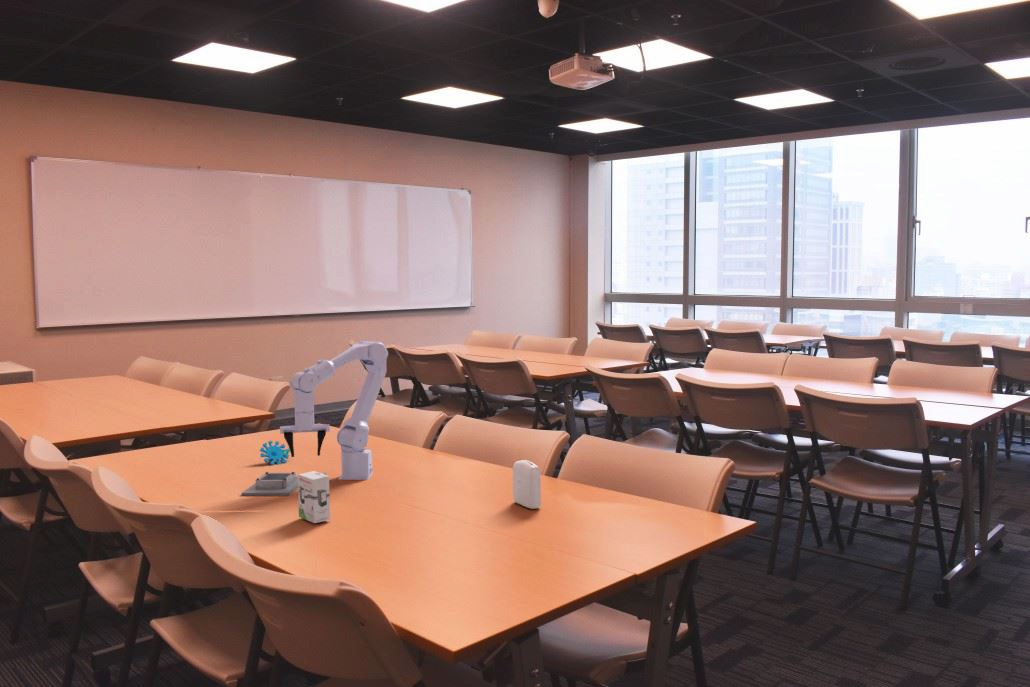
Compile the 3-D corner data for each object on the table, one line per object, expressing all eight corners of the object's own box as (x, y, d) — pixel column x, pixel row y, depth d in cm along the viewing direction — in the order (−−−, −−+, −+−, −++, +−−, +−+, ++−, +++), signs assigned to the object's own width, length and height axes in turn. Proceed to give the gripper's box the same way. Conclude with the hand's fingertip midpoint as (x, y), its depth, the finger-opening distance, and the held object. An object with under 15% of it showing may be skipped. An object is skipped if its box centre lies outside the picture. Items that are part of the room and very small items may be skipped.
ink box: (297, 517, 219) (296, 473, 218) (314, 513, 222) (313, 470, 221) (314, 523, 213) (313, 478, 212) (331, 519, 216) (330, 475, 215)
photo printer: (511, 501, 232) (510, 458, 231) (524, 499, 234) (523, 456, 233) (529, 510, 223) (529, 465, 222) (543, 508, 225) (542, 463, 224)
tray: (308, 479, 261) (307, 467, 260) (288, 495, 241) (288, 483, 241) (264, 479, 261) (264, 467, 261) (241, 495, 241) (241, 483, 241)
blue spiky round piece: (266, 465, 276) (257, 441, 280) (261, 475, 279) (252, 451, 284) (296, 460, 283) (287, 437, 287) (291, 470, 286) (282, 446, 291)
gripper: (329, 408, 255) (330, 451, 256) (280, 410, 252) (282, 454, 253) (328, 412, 248) (330, 456, 249) (278, 414, 245) (280, 459, 246)
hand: (305, 455), depth 251 cm, fingers open, 7 cm apart
